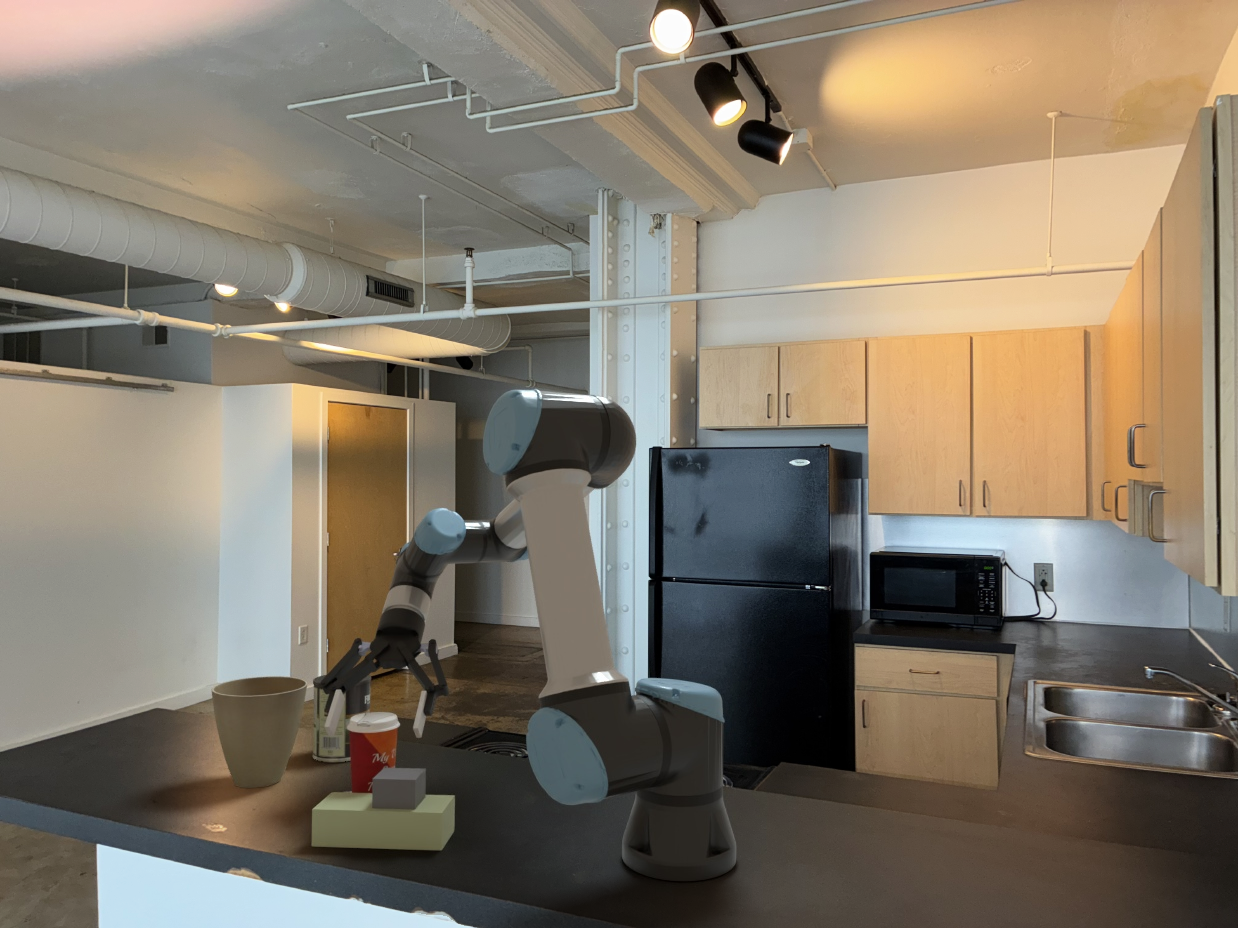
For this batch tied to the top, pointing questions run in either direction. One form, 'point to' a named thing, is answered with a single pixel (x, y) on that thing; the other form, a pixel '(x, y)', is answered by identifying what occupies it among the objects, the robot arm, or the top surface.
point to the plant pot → (258, 726)
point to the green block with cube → (386, 815)
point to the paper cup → (371, 747)
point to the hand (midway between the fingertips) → (372, 732)
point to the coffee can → (353, 705)
